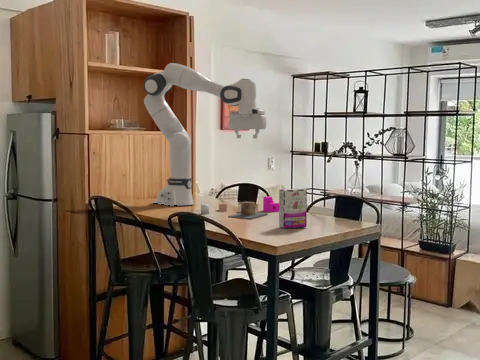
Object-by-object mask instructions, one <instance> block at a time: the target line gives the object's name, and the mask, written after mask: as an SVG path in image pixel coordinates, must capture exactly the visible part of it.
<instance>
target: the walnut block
mask: <svg viewBox="0 0 480 360" xmlns="http://www.w3.org/2000/svg"><path fill="white" fill-rule="evenodd" d="M240 204H241V212H240V213H241V215H246V216H252V215H255V212H256V202H255V201H243V202H240Z"/></svg>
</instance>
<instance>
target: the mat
mask: <svg viewBox="0 0 480 360" xmlns="http://www.w3.org/2000/svg"><path fill="white" fill-rule="evenodd" d="M265 216H268V212H267V213H265V212H257V211H255V215H252V216H246V215H241V212H238V213H235V214H231V215H227V218H231V219H232V218H233V219H240V220H250V221H251V220H255V219H259V218H262V217H265Z"/></svg>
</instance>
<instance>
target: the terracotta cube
mask: <svg viewBox="0 0 480 360" xmlns="http://www.w3.org/2000/svg"><path fill="white" fill-rule="evenodd" d="M218 211H219V212H228V203H227V202H220V203H219V204H218Z"/></svg>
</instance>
